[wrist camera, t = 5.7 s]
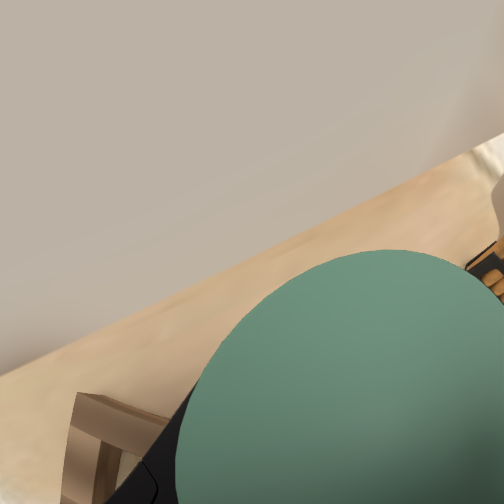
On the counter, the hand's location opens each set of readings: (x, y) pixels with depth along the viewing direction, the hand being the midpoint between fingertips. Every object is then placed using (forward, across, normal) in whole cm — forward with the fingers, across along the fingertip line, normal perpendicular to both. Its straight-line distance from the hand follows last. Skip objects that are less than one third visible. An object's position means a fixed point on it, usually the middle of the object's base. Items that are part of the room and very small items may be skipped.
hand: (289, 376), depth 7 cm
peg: (+4, 0, +6) cm, 7 cm away
